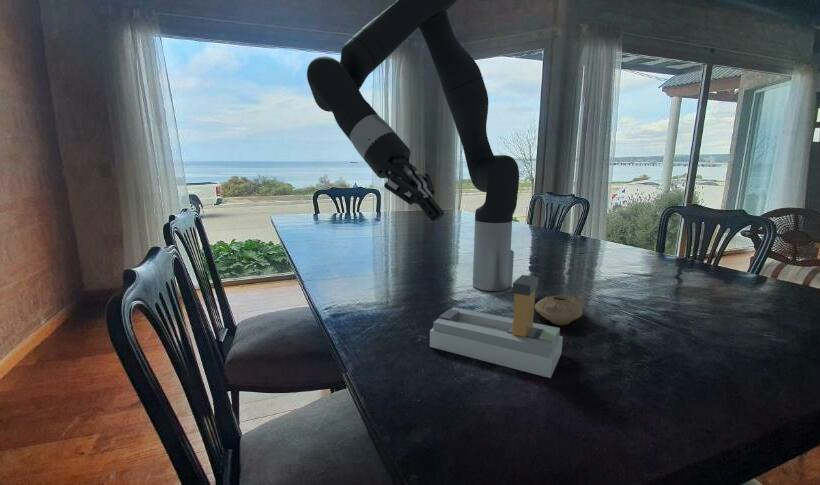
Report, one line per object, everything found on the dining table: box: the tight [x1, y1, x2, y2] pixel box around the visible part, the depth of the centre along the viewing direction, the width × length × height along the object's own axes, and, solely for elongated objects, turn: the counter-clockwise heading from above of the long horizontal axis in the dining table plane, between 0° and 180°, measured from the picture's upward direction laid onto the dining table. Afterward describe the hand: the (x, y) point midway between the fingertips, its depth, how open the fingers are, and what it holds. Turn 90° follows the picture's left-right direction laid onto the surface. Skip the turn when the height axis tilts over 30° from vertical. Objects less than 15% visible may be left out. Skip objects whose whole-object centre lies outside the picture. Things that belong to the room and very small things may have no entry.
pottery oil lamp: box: [534, 294, 586, 326], centre depth 79 cm, size 9×12×7 cm
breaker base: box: [429, 306, 564, 379], centre depth 66 cm, size 20×9×5 cm, turn 60°
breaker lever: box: [507, 274, 539, 339], centre depth 62 cm, size 4×5×10 cm
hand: (439, 217), depth 68 cm, fingers closed
